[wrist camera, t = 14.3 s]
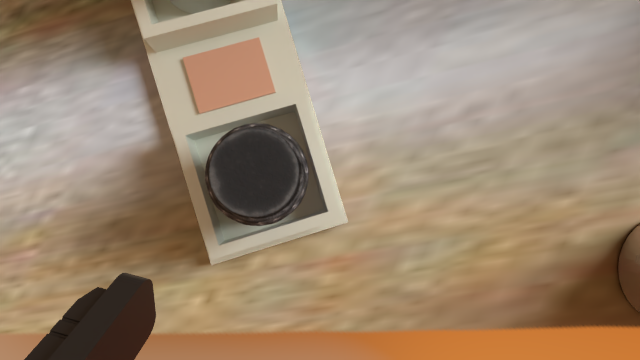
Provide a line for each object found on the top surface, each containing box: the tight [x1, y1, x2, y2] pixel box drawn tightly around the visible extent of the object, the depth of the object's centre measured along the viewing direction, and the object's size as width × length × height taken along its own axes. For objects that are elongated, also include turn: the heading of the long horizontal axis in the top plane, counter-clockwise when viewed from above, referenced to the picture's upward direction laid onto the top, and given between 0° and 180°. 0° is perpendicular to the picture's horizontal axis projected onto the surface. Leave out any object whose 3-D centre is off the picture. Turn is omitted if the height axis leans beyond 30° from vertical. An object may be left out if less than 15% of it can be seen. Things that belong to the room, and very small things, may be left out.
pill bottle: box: [205, 123, 309, 226], centre depth 27 cm, size 6×6×11 cm
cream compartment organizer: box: [131, 0, 348, 265], centre depth 27 cm, size 27×11×13 cm, turn 17°
